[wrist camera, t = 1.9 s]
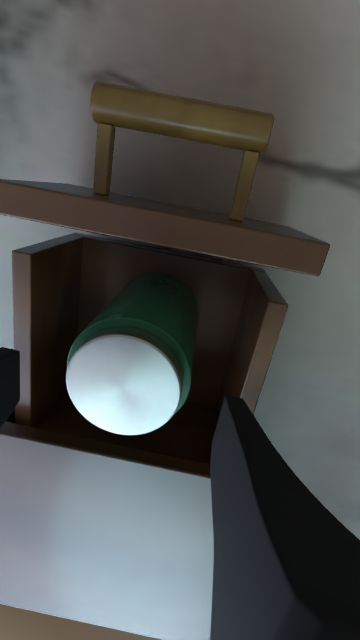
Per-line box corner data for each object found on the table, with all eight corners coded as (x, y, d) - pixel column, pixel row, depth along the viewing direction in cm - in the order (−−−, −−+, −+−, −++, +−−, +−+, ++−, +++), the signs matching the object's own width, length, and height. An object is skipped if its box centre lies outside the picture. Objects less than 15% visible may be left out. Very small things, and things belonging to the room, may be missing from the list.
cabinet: (57, 345, 23) (-27, 427, 15) (248, 383, 22) (268, 489, 14) (52, 484, 28) (-12, 602, 20) (207, 517, 27) (205, 649, 19)
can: (121, 264, 18) (59, 313, 11) (206, 281, 18) (202, 342, 11) (113, 340, 20) (55, 428, 12) (190, 356, 20) (177, 453, 12)
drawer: (70, 96, 16) (-20, 34, 10) (313, 141, 16) (379, 108, 10) (59, 375, 22) (-1, 446, 16) (234, 411, 22) (243, 497, 16)
